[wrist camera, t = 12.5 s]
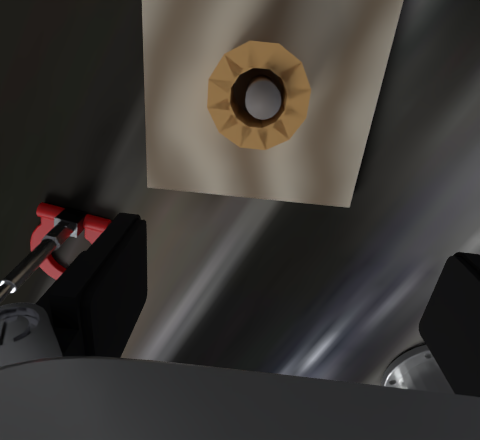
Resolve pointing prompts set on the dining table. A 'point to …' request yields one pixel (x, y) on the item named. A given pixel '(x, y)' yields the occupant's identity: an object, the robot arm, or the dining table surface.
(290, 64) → the collar
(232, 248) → the dining table surface
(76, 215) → the tow hook
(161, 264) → the dining table surface
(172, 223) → the dining table surface
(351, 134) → the post base
